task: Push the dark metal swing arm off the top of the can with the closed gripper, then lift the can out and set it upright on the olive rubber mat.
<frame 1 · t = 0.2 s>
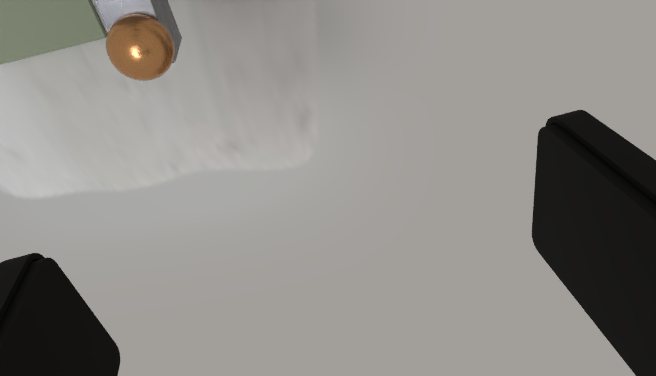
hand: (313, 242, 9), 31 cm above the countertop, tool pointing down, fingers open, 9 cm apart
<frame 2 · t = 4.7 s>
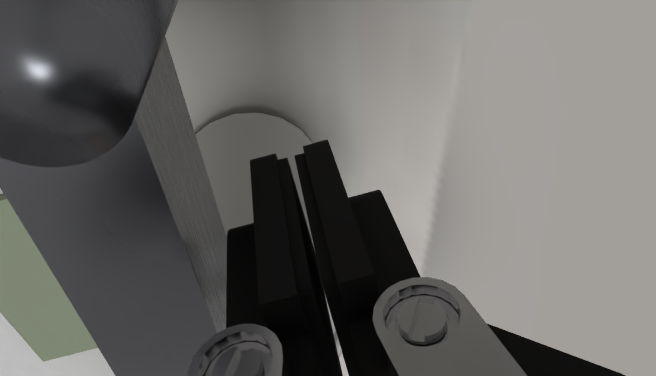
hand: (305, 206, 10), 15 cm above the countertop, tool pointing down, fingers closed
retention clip: (224, 261, 17), point 10 cm above the countertop, hinge at -3.9°, touching gripper
can: (250, 166, 27), on the countertop
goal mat: (78, 270, 28), on the countertop
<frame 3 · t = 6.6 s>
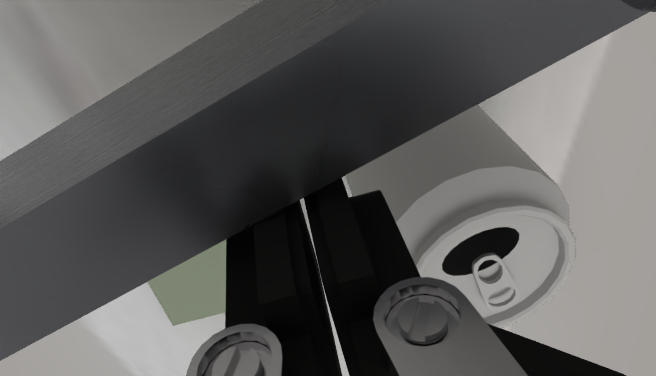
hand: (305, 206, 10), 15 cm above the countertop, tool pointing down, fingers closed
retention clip: (145, 81, 13), point 10 cm above the countertop, hinge at -72.9°
can: (398, 126, 27), on the countertop
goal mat: (219, 232, 29), on the countertop
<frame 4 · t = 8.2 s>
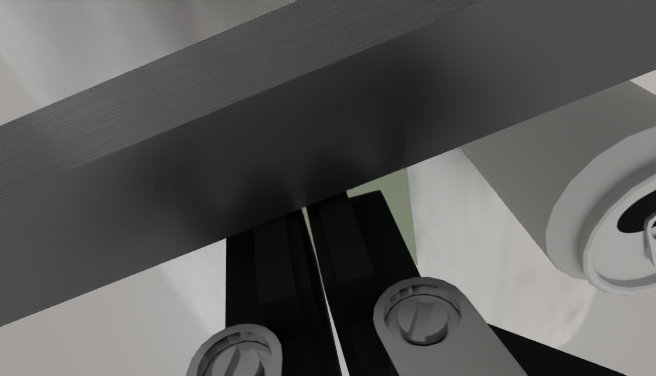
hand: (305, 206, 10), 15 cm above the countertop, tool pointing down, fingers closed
can: (509, 99, 27), on the countertop
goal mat: (325, 208, 29), on the countertop
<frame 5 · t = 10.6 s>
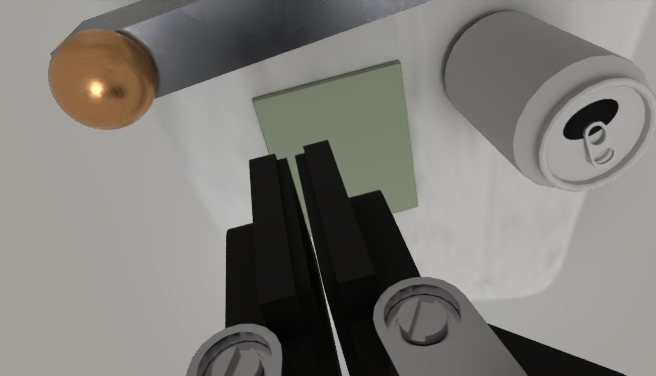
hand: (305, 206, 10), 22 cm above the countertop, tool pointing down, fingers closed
can: (489, 62, 34), on the countertop
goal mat: (342, 155, 35), on the countertop
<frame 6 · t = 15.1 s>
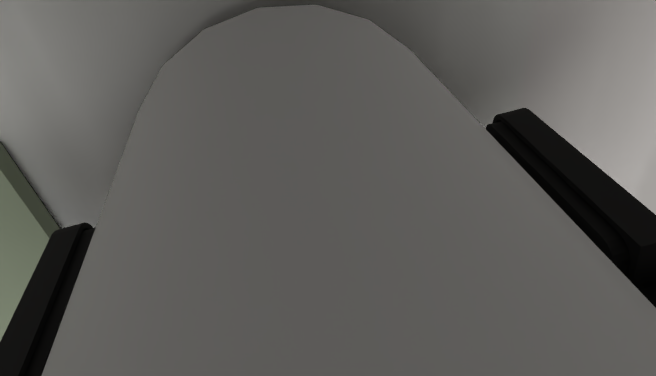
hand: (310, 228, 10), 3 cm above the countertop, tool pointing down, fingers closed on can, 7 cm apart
can: (291, 141, 13), on the countertop, touching gripper
when the fingers open (5 cm above the countertop, at t = 23.2 s): can stays where it is, resting on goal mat.
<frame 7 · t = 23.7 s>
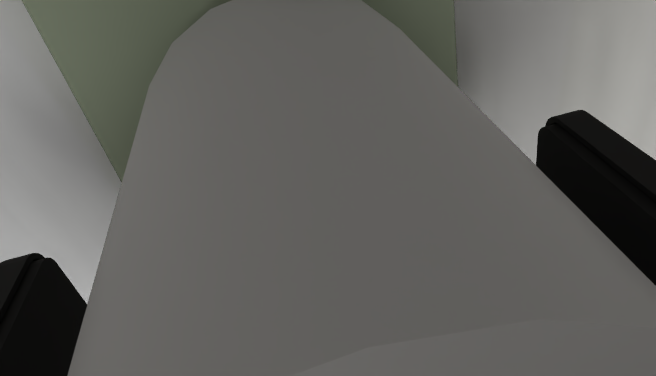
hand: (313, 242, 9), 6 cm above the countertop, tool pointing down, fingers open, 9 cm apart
can: (289, 116, 14), point 1 cm above the countertop, touching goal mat
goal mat: (285, 115, 14), on the countertop
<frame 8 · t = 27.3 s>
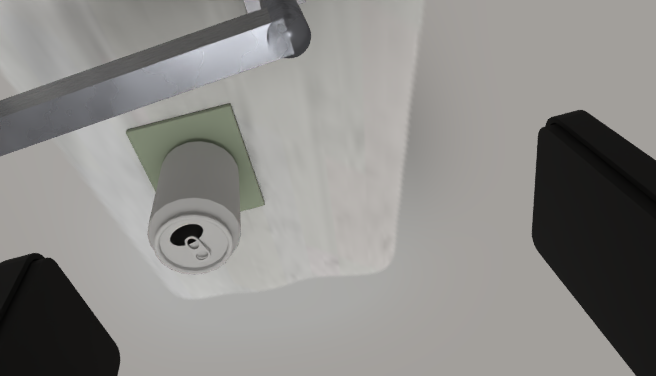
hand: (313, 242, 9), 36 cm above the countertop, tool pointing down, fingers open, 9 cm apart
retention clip: (143, 52, 32), point 10 cm above the countertop, hinge at -85.1°
can: (201, 169, 49), resting on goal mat
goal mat: (200, 168, 49), on the countertop
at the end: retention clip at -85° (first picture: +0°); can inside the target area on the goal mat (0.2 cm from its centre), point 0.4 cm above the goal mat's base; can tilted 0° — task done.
